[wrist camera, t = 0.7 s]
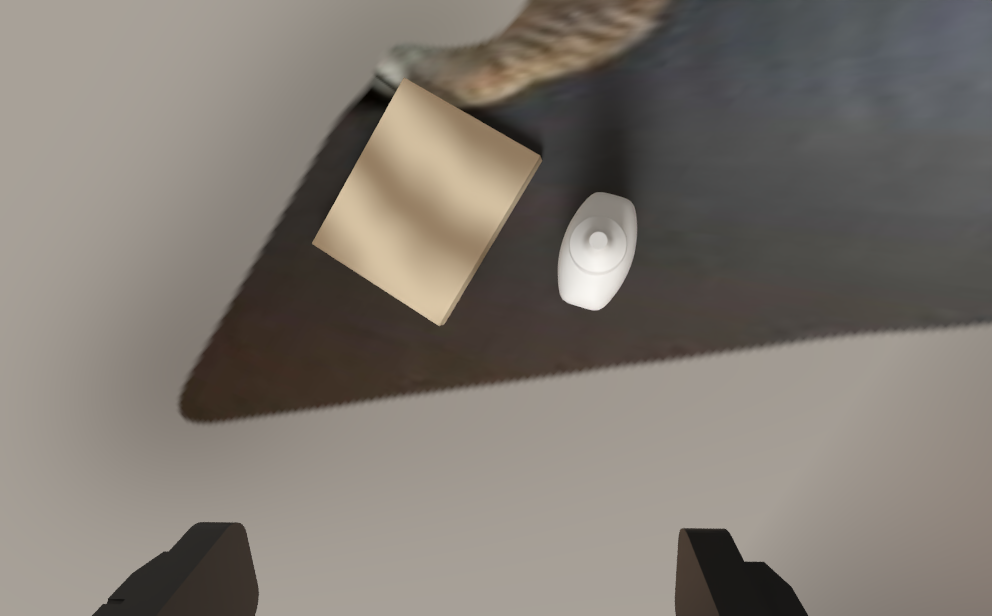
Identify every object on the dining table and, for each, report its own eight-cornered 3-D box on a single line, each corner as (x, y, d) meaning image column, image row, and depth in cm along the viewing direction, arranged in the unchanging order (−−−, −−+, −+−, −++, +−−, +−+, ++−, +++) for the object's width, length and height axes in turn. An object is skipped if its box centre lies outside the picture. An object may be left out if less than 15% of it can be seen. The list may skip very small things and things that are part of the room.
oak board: (410, 85, 34) (404, 77, 33) (542, 160, 33) (540, 155, 31) (321, 245, 35) (311, 243, 34) (443, 324, 34) (438, 325, 33)
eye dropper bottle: (537, 268, 33) (508, 252, 21) (603, 202, 32) (612, 148, 20) (587, 318, 32) (585, 331, 20) (655, 253, 32) (694, 228, 20)
